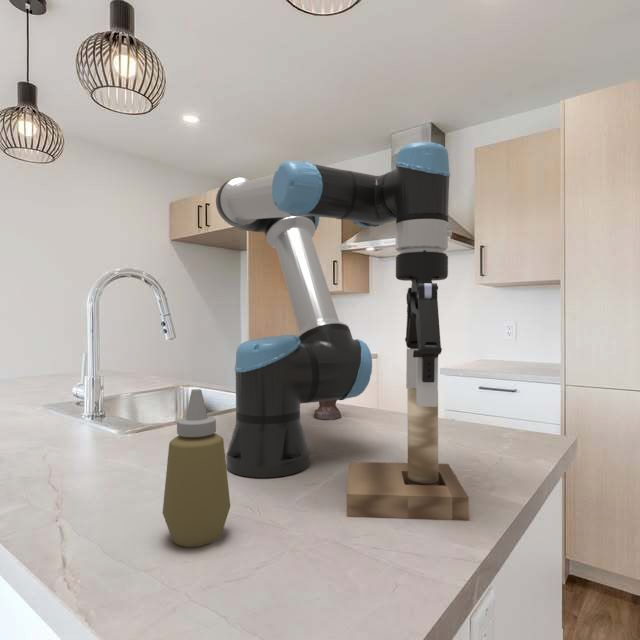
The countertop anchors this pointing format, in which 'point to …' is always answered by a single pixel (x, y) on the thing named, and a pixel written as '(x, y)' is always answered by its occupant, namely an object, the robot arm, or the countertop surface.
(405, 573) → the countertop surface
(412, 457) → the peg
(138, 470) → the countertop surface
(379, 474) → the board
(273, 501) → the countertop surface
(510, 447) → the countertop surface
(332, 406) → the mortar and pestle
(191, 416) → the squeeze bottle
